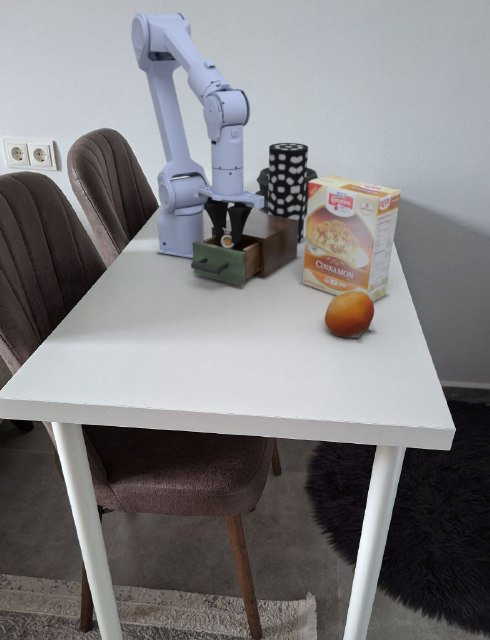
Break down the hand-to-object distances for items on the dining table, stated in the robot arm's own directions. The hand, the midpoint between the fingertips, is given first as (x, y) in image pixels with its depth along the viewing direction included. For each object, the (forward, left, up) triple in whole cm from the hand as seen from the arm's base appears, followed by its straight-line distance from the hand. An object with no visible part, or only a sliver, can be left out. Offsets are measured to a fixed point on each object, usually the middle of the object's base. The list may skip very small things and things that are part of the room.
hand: (228, 240), depth 110 cm
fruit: (+28, -13, -8) cm, 32 cm away
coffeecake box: (+23, +3, -8) cm, 24 cm away
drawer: (0, 0, -7) cm, 7 cm away
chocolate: (0, 0, -2) cm, 2 cm away
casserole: (-6, +53, -8) cm, 54 cm away
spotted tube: (+3, +26, -8) cm, 27 cm away
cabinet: (+2, +10, -7) cm, 12 cm away
